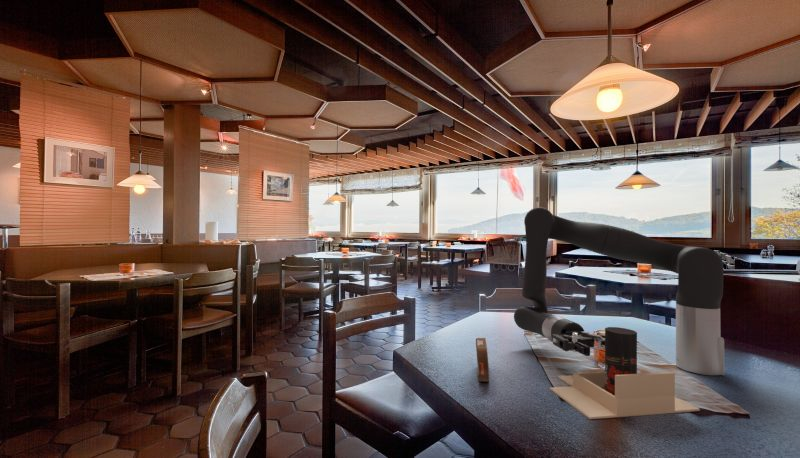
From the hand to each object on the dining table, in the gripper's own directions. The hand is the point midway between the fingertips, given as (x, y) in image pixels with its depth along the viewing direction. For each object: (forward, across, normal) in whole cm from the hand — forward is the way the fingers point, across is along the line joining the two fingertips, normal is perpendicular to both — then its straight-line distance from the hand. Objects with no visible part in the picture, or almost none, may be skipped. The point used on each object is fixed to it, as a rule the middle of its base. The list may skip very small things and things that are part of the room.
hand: (605, 351), depth 81 cm
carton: (+1, 0, +9) cm, 9 cm away
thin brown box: (-12, -25, +9) cm, 29 cm away
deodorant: (+4, 0, +9) cm, 10 cm away
